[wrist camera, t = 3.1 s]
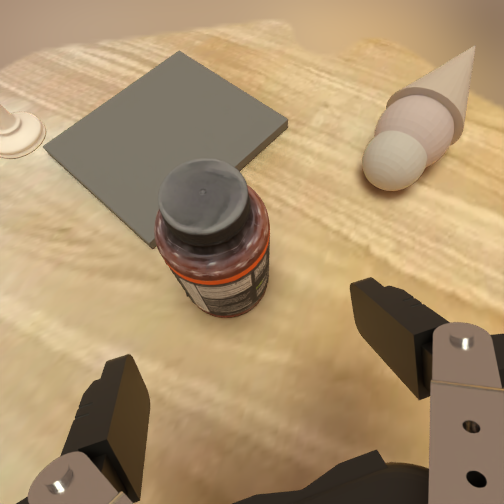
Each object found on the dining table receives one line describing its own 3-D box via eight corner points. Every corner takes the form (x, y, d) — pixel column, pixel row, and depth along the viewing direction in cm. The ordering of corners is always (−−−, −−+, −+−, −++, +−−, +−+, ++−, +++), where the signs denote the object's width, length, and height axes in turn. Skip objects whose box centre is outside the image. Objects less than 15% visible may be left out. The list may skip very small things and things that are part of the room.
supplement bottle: (191, 242, 27) (146, 136, 16) (269, 243, 26) (272, 137, 16) (182, 319, 24) (122, 251, 14) (267, 321, 24) (271, 254, 14)
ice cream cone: (458, 86, 33) (371, 209, 30) (425, 30, 30) (328, 159, 28) (532, 61, 27) (432, 209, 25) (498, -10, 25) (385, 147, 22)
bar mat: (152, 249, 27) (148, 243, 26) (49, 154, 31) (42, 146, 30) (287, 127, 31) (288, 119, 30) (181, 59, 35) (179, 50, 35)
